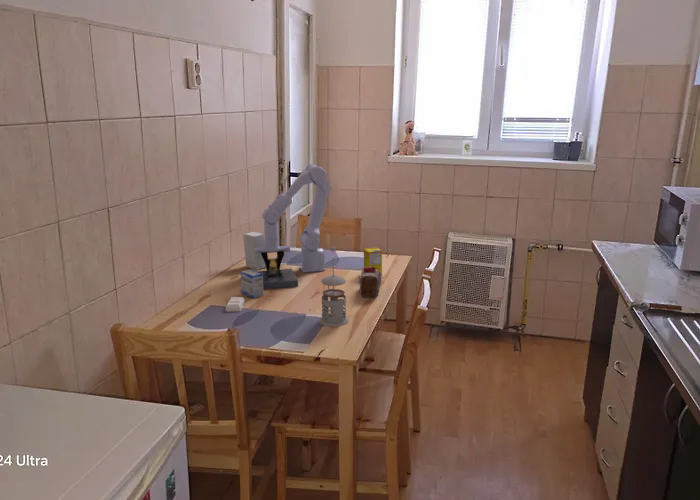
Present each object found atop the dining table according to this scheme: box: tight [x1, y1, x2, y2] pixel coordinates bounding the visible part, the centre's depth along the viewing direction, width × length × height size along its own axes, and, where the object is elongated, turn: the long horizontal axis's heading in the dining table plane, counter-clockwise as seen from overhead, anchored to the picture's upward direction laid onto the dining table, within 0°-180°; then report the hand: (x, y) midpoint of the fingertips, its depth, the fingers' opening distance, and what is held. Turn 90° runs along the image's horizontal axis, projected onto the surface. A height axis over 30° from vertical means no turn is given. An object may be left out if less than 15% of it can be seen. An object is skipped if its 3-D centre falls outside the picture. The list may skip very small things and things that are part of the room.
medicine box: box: [240, 269, 264, 299], centre depth 208 cm, size 8×4×9 cm, turn 47°
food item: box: [359, 266, 382, 299], centre depth 210 cm, size 14×8×10 cm, turn 177°
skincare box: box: [242, 231, 266, 271], centre depth 242 cm, size 8×6×15 cm
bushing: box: [268, 257, 278, 270], centre depth 235 cm, size 4×4×6 cm
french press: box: [318, 246, 350, 327], centre depth 182 cm, size 10×12×25 cm
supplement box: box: [363, 246, 383, 277], centre depth 231 cm, size 6×6×11 cm
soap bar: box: [225, 296, 245, 312], centre depth 197 cm, size 5×9×3 cm, turn 1°
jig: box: [251, 267, 299, 290], centre depth 223 cm, size 16×16×4 cm
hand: (273, 269), depth 235 cm, fingers closed on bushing, 4 cm apart
